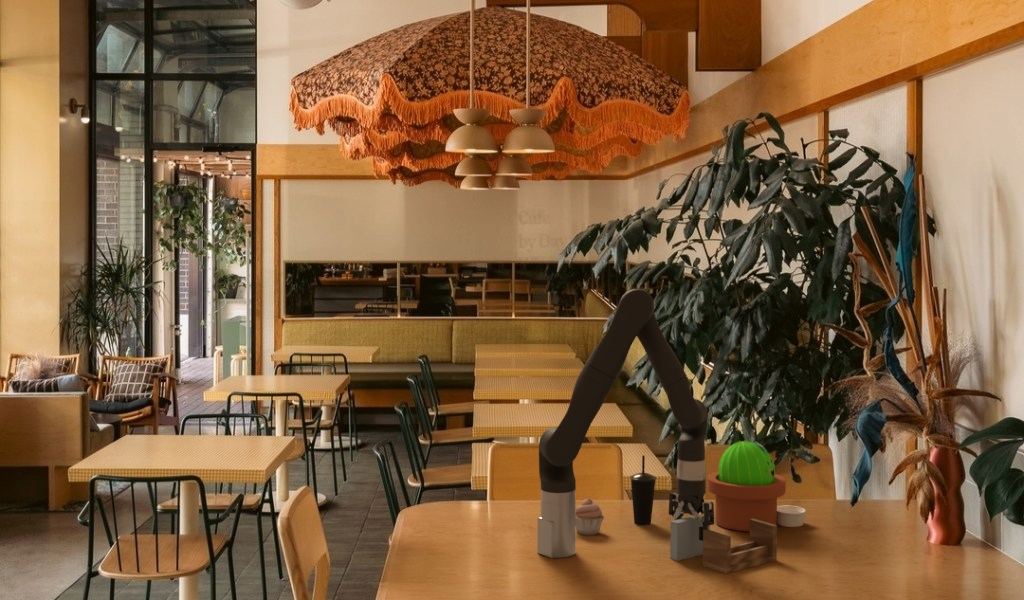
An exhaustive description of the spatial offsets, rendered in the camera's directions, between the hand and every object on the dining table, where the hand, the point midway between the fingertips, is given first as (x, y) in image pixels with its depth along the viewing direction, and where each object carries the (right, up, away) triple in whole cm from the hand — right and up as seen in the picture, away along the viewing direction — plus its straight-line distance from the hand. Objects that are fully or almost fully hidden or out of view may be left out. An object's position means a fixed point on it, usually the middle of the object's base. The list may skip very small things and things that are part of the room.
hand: (690, 536), depth 290 cm
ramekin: (+34, -3, +31) cm, 46 cm away
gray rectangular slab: (0, -5, 0) cm, 5 cm away
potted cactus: (+21, -3, +30) cm, 37 cm away
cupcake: (-26, -4, +21) cm, 33 cm away
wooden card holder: (+12, -6, -6) cm, 14 cm away
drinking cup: (-9, -3, +31) cm, 32 cm away
